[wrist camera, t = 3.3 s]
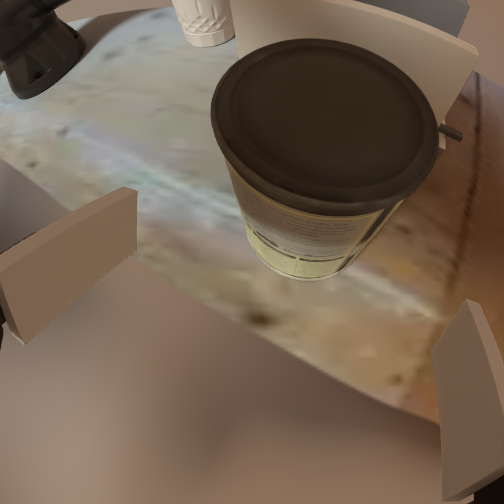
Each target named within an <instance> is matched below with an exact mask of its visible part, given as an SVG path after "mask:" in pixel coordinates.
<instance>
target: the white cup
mask: <svg viewBox="0 0 504 504" xmlns="http://www.w3.org/2000/svg"><path fill="white" fill-rule="evenodd" d="M171 2H172V4H173V7H174V10H175V13H176V15H177V18H178V20H179V22H180V25H181V27H182V28H183V31H184V33H185V36H186V39H187V42H188V43H189V44H191V45H193V46H196V47H212V46H216V45H219V44H222V43H225V42H227V41H228V40H230V39H231V38H233V36H234V34H235V30H234V24H233V17H232V11H231V5H230V0H171Z"/></svg>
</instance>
